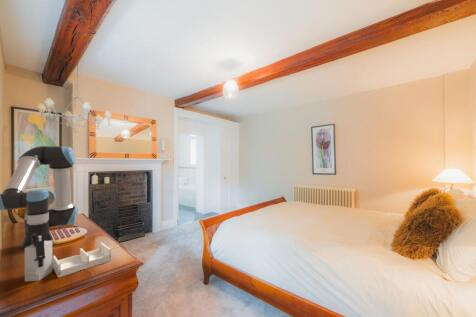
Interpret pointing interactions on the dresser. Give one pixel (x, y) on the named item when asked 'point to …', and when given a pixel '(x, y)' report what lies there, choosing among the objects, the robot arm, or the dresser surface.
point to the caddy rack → (81, 261)
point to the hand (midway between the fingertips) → (38, 269)
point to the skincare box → (31, 264)
